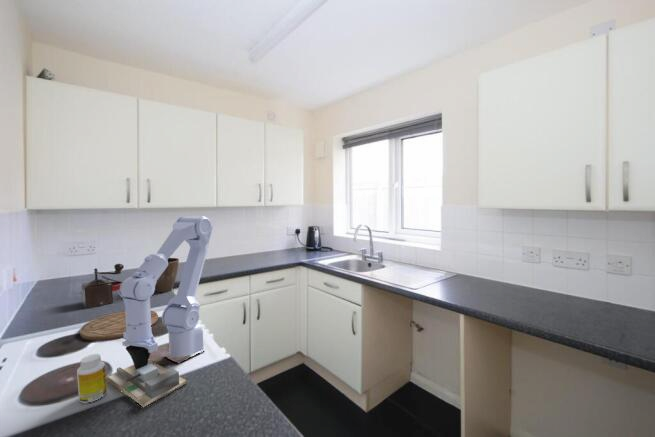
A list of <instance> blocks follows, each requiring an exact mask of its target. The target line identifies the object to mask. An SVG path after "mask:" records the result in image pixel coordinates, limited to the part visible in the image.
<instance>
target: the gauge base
mask: <svg viewBox="0 0 655 437" xmlns="http://www.w3.org/2000/svg"><path fill="white" fill-rule="evenodd" d="M147 365H148V364H147ZM152 365H153V364H152ZM153 366H155V367H157V368H158V376H156V377H154V378H152V379H150V380H148V381H146V382H145V383H143V382H142V381H140V380H139V379H137V378H135V379H132V380H130V381H128V382H126V380H127V379H129V378H131V377H133V376H135V375H136V369H135V366H134V364H131V365H130V366H127V367H125V368H122V367H118V368H116V372H113V373H111V374H109V375H106V380H107V381H108V382H109V384H110V385H111V386H112V385H113V386H112V387H113V388H115V387H116V388H117V389H116V388H115V389H116V390H118V389H119V390H120V391H122V392H123V393H125V394H126V395H128V396H129V397H131V398H132V399H134V400H135V401H136V402H137V403H139V404H140V405H141V406H142V407H144V406H146V405H148V404H150V403H151V402H153V401H155V400H156V399H157V398H159V397H161V396H163V395H164V394H166V393H168V392H170V391H172V390H174V389H175V388H177V387H179V386H181V385H183V384H185V383H186V382H187V379H185V378H183V377H181V376H180V374H179V373H180V372H179V371H178V370H176V369H174V368H171V369H167V368H165V367H164V366H162V365H160V364H158V363H157V365H156V364H154V365H153ZM107 381H106V382H107ZM108 382H107V383H108ZM119 390H118V391H119ZM120 391H119V392H120ZM122 392H121V393H122ZM123 393H122V394H123ZM126 395H125V396H126ZM142 407H141V408H142Z"/></svg>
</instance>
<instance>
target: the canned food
mask: <svg viewBox="0 0 655 437" xmlns="http://www.w3.org/2000/svg"><path fill="white" fill-rule="evenodd" d="M100 277H101V278H102V279H103V280H108V281H109V282H110V283H111V284H112V292H118V290H119V289H120V287H121V284H122V283H123V281H121V280H120V281H119V280H115V279H113V278H110V277H107V276H105V275H103V274H100Z"/></svg>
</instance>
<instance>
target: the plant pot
mask: <svg viewBox="0 0 655 437" xmlns="http://www.w3.org/2000/svg"><path fill="white" fill-rule="evenodd" d="M179 262H180V260H179V258H178V257H169V258H168V266H167V268H166V269H165V270H164V272H163V273H162V274H161V276H160V277H159V278H158V280H157V282H156V285H155V292H156V293H168V292H171V291H172V290H173V289H174V286H175V282H176V279H177V275H178V269H179Z"/></svg>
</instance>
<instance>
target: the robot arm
mask: <svg viewBox="0 0 655 437" xmlns="http://www.w3.org/2000/svg"><path fill="white" fill-rule="evenodd" d="M211 222H212V221H211V220H210V219H209V217H207V216H186V215H181V216H180V217H178V218H177V219H176V221H175V222H174V223H172V230H171V232H170V233H169V235H168V236H167V238H166V239H165V240H164V242H163V244H162V245H161V247H159V249H158V251H157V252H156V253H152V254H149V255H148V256H146V257H145V258H144V260H143V263H142V264H141V265H140V266H139V267H138V269H137V270H136V271H134V272H133V274H132V276H129V277H128V278H126V279H125V280H124V281H122V282H123V283H122V284H121V287H120V289H119V290H117V292H118V295H119V296H120V297H121V298H122V301H123V304H124V311H125V313H126V330H127V331H125V332H123V340H124V341H122V342H121V346H123V347H125V350H126V351H127V353H128V354H129V356H130V358H131V359H132V363H133V365H134V366H135V369H136V370H137V369H139V368H141V367H143V366H146V365H147V364H148V360H150V356H151V354H152V353H154V352H157V351H159V350H158V348H159V345H158V343H159V342H157V341H156V339H155V337H154V335H153V333H152V327H151V311H152V310H151V297H152V296H153V295H154V293H155V292H156V289H155V285H156V282H157V280H158V278H159V277H160V276H161V274H162V273H163V272H164V270H165V269H166V268H167V266H168V258H171V256H172V255H173V254H174V253H175V252H176V251H177V249H179V248H180V246H181V245H182V244H183V243H184V241H185V242H186V243H188V245H189V247H190V248H189V250H188V255H187V256H186V257H187V258H186V262H185V265H184V268H183V271H182V276H181V279H180V282H179V286H178V288H177V293H176V295H175V296H173V297H172V298H170V299H169V300H168V303H167V304H166V305H167V306H166V307H165V309H164V310H163V312H162V315H161V321H162V324H163V325H165V326H166V330H167V332H168V349H169V350H168V351H169V352H168V353H170V355H171V356H173V357H182V356H187V355H191V354H193V353H195V352H198V351H201V350H202V351H204V350H205V351H206V349H205V348H204V330H203V327H202V325H201V323H199V321H200V320H199V319H200V307H201V304H200V303H199V302H198V300H197V299H196V294H197V292H198V288H199V283H200V280H201V277H202V273H203V269H204V266H205V262H206V257H207V254H208V250H209V247H210V239H211V237H212V236H211V235H212V231H213V227H214V226H213V225H212V223H211ZM202 351H201V352H202ZM205 351H204V352H205ZM202 353H203V352H202Z"/></svg>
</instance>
